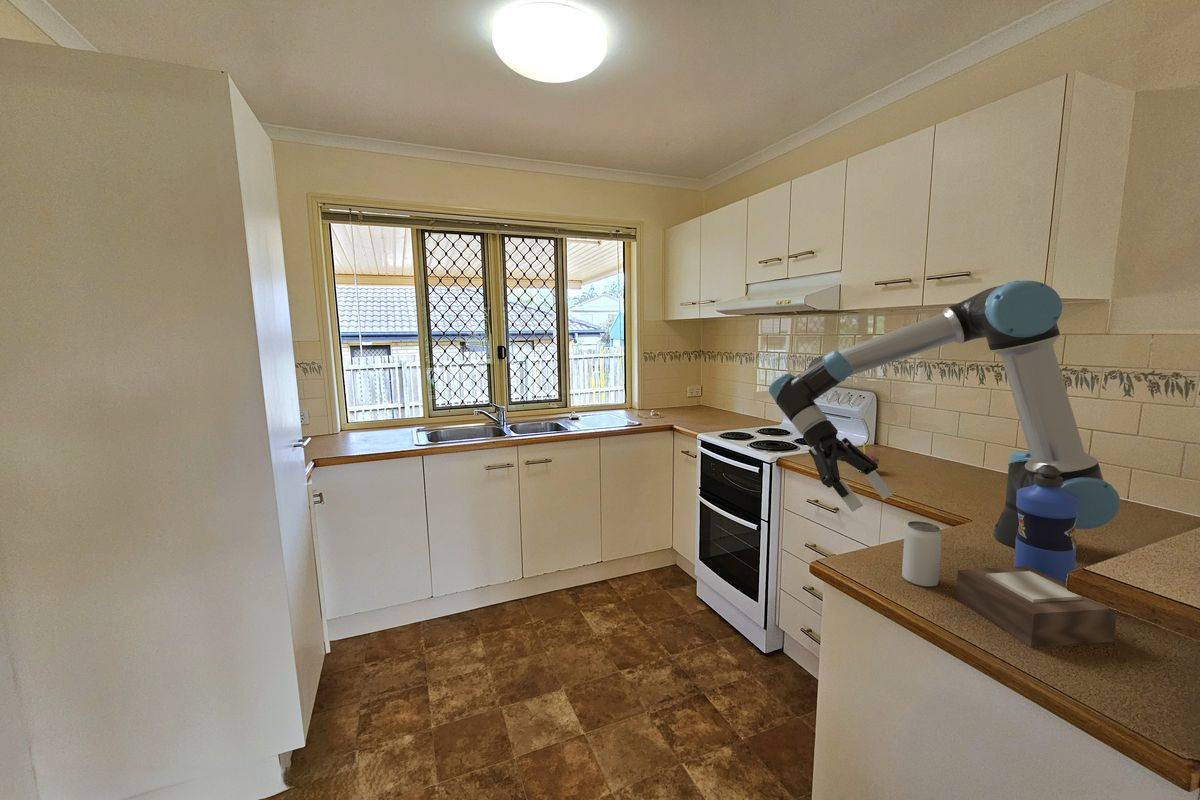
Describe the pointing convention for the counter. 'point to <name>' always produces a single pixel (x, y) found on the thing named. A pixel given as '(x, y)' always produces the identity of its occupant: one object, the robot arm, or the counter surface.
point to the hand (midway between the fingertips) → (873, 502)
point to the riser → (1035, 607)
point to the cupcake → (871, 456)
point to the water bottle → (1047, 525)
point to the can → (922, 554)
